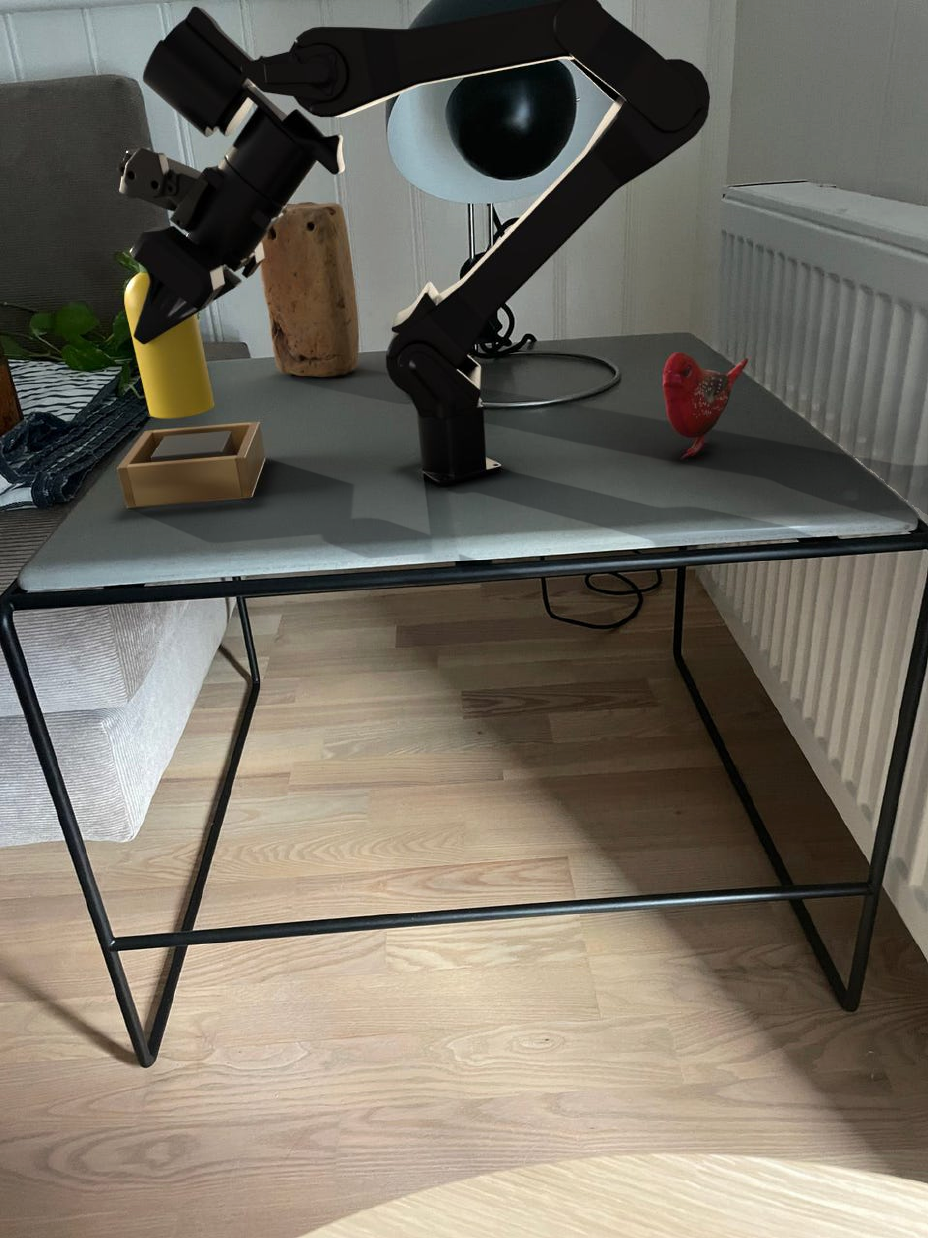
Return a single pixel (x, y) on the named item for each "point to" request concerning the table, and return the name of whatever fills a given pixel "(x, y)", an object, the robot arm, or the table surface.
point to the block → (311, 291)
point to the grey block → (194, 446)
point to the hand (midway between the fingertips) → (150, 332)
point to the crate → (192, 469)
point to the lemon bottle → (170, 361)
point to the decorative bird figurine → (695, 396)
